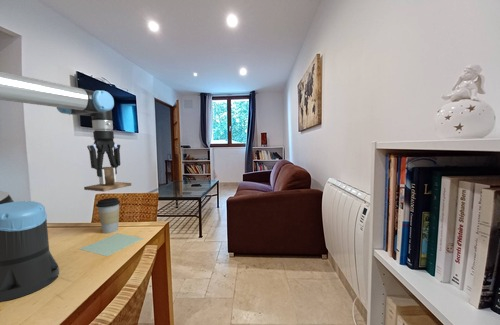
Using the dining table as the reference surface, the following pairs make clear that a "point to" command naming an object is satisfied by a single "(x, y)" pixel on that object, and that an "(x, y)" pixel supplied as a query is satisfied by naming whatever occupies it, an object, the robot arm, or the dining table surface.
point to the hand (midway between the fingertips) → (108, 182)
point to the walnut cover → (107, 182)
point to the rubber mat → (111, 244)
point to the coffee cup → (108, 214)
